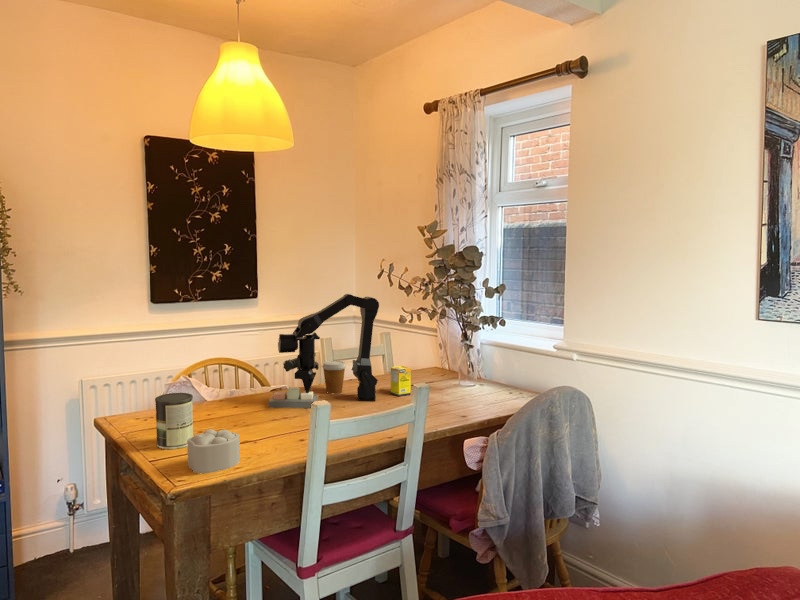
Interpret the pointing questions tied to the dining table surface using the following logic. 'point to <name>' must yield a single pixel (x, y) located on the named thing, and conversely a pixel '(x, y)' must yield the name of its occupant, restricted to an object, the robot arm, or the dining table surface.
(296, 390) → the key mid
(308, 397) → the cream white cube
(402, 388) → the supplement box
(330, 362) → the disposable coffee cup
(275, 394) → the pink cube
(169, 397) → the coffee can
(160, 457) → the dining table surface
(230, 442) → the lumpy-topped squat cylinder
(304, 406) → the keypad base
